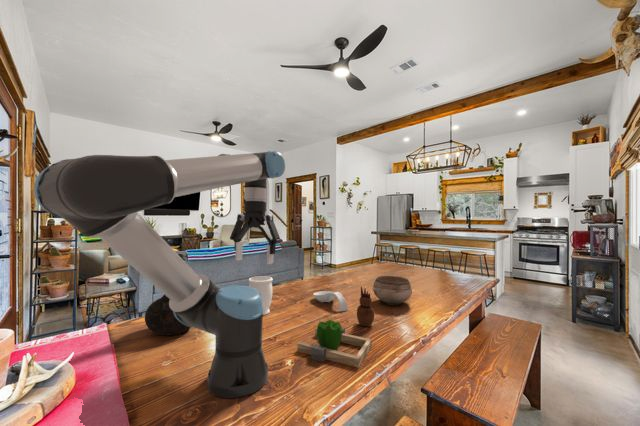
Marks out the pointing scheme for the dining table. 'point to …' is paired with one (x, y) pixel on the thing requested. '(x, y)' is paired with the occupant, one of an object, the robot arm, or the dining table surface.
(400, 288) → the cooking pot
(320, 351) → the tan wooden u-shaped frame
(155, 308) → the glass bottle
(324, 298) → the spoon rest
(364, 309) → the wooden figurine
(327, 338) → the bell pepper
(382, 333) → the dining table surface
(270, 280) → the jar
